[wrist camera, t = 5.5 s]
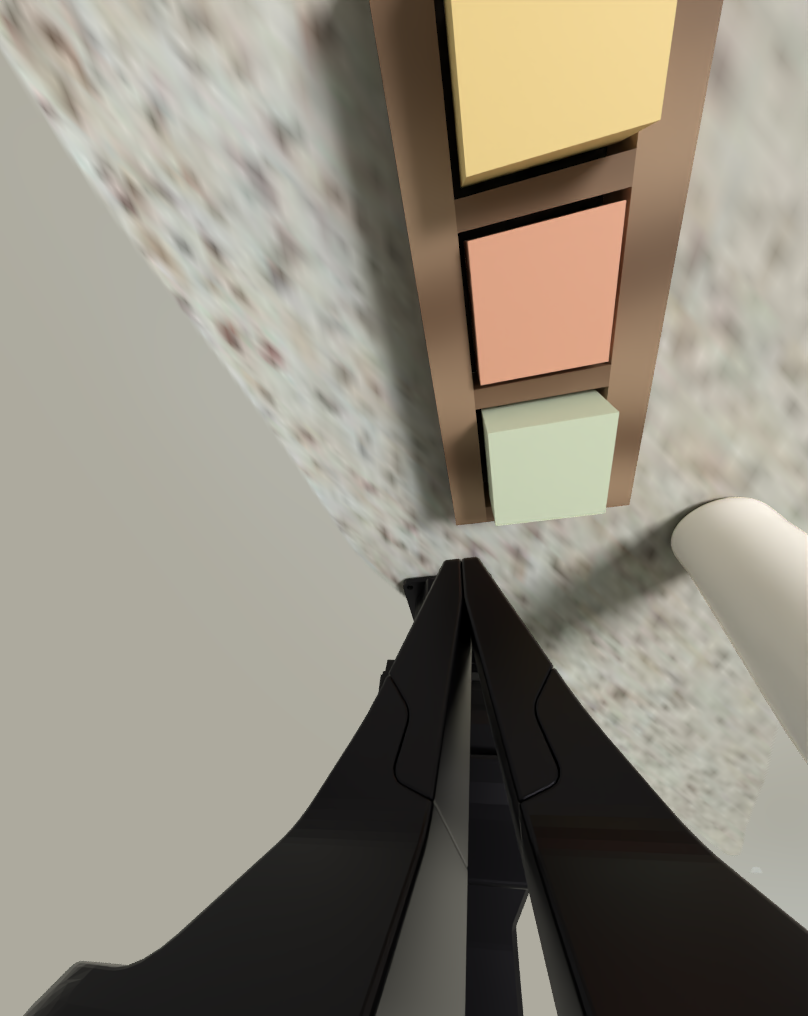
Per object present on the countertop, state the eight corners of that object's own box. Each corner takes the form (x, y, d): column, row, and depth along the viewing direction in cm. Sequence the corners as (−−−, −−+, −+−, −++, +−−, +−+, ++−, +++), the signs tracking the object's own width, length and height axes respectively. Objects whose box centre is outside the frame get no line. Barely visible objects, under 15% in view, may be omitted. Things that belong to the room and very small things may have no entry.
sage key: (585, 482, 19) (605, 513, 17) (489, 494, 20) (495, 526, 18) (594, 388, 16) (619, 412, 14) (481, 408, 17) (487, 433, 15)
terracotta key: (585, 345, 16) (608, 361, 14) (475, 367, 17) (480, 385, 15) (596, 206, 14) (626, 200, 11) (462, 241, 14) (467, 241, 12)
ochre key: (617, 142, 11) (660, 119, 9) (460, 188, 12) (466, 176, 10) (645, -145, 9) (716, -275, 6) (437, -58, 9) (438, -147, 7)
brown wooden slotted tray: (610, 479, 21) (629, 504, 19) (454, 499, 22) (456, 525, 20) (709, -216, 9) (788, -348, 7) (363, -64, 11) (346, -136, 9)
